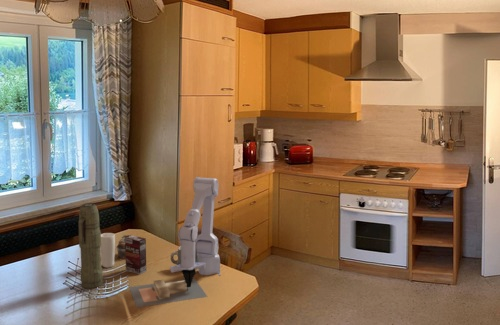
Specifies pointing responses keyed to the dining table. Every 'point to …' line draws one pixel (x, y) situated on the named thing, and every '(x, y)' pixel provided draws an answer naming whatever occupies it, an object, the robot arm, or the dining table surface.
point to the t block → (168, 288)
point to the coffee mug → (180, 257)
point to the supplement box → (135, 254)
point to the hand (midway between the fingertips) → (188, 286)
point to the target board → (148, 296)
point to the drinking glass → (108, 249)
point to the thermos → (90, 246)
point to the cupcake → (122, 247)
